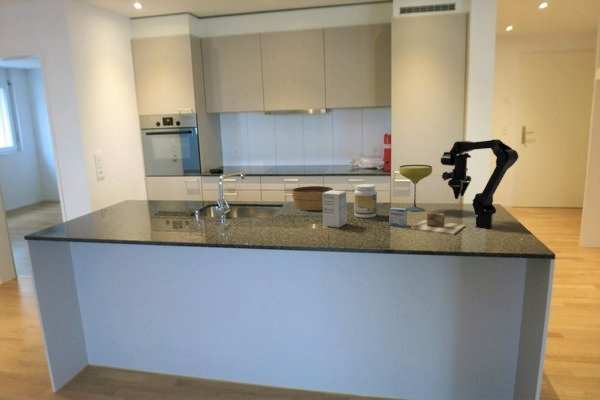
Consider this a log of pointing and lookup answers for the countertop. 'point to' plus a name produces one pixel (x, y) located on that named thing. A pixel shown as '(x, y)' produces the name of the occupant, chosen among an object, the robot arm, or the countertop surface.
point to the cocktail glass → (415, 178)
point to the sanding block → (435, 219)
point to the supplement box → (334, 208)
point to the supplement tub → (365, 201)
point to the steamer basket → (309, 197)
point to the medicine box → (398, 217)
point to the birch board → (438, 228)
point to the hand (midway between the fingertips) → (459, 197)
